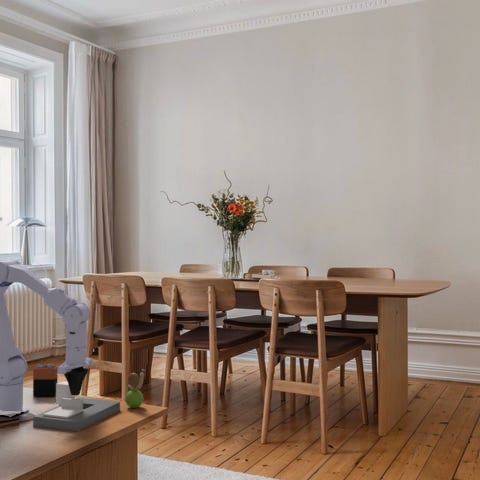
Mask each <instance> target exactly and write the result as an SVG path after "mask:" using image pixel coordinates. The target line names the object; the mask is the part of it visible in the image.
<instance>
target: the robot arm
mask: <svg viewBox="0 0 480 480" xmlns="http://www.w3.org/2000/svg"><path fill="white" fill-rule="evenodd" d="M15 283H19V284H22V285H23V286H25V287H26V288H28V289H29V290H31V291H33V292H34V293H36V294H37V295H39V296H40V297H42V298H43V303H44V305H46V306H47V307H48V308H50V310H53V311H54V312H55V313H57V314H58V315H59V316H60V317H61V318H62V320H63V322H64V324H65V358H64V359H65V361H64V362H63V363H62V364H61V365H59V366H57V375H63V376H64V378H65V379H66V381H67V382H68V385H69V388H70V393H71V395H75V397H76V396H77V397H78V396H79V395H80V394H81V390H82V387H83V385H84V384H83V383H84V381H85V378H86V376H87V374H88V373H89V368H85V367H89V366H92V365H93V362H94V360H93V359H94V358H93V357H87V349H88V348H87V345H88V344H87V343H88V341H87V340H88V339H87V338H88V332H87V331H88V330H87V329H88V321H89V319H90V318H91V310H90V308H89V306H87V305H86V303H84V302H78V299H76V298H73V297H71V296H70V295H69V294H67V293H66V291H65V289H64V288H63V287H62V288H61V287H60V288H59V287H50V285H48V284H47V283H45V282H44V281H43V280H42V279H40V278H39V277H38V276H37V275H36V274H35V273H33V272H32V271H31V270H30V269H28V267H27V266H26V265H25V264H22V263H21V262H20V261H18V260H16V259H8V260H0V410H2V411H25V412H24V413H27V412H29V411H30V408H25V407H24V405H23V404H24V376H25V375H26V374H27V372H28V367H29V366H28V365H29V364H28V362H27V361H26V359H25V358H24V356H23V353H22V351H21V349H19V348H18V347H17V346H16V342H15V338H14V333H13V329H12V324H11V320H10V317H9V316H10V315H9V311H8V307H7V302H6V298H5V294H6V293H5V292H7V290H8V289H9V287H10V286H11V285H13V284H15Z"/></svg>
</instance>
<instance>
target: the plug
mask: <svg viewBox="0 0 480 480" xmlns="http://www.w3.org/2000/svg"><path fill="white" fill-rule="evenodd" d="M62 398H70V399H76V395H71V393H70V388H69V385H68V382H67V380H62V381H60V382H57V384H56V395H55V404H56V405H58V406H60V405H61V400H62Z"/></svg>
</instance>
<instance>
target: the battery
mask: <svg viewBox="0 0 480 480" xmlns="http://www.w3.org/2000/svg"><path fill="white" fill-rule="evenodd" d="M32 372H33V373H32V375H33V376H32V381H33V382H32V383H33V385H32V397H34V398H54V397H56V384H57V383H58V366H57V365H55V364H54V363H48V364H47V365H43V364H41V363H40V364H37V366H35V367H34V368H33V371H32Z"/></svg>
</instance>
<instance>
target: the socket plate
mask: <svg viewBox="0 0 480 480" xmlns="http://www.w3.org/2000/svg"><path fill="white" fill-rule="evenodd" d="M76 399H79V400H83V409H82V410H83V412H81V413H78V414H76V415H74V416H72V417H70V418H68V419H66V418H57V417H49V416H43V414H44V413H47V412H49V411H51V410H54V409H56V408H58V407H61V405H60V406H59V405H58V406H55V407H53V408H51V409H47V410H45V411H44V412H41V413H38V414H35V415H33V417H32V426H33V427H37V428H38V427H39V428H47V429H57V430H61V431H62V430H64V431H72V432H81V430H85V429H86V428H87V427H89V426H92V425H93V424H96V423H98V422H100V421H102V420H103V419H105V418H108V417H109V416H111V415H114V414H116V413H117V412H119V411H121V401H116V400H106V399H105V400H104V399H96V398H87V397H86V398H85V397H77V398H76Z"/></svg>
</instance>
